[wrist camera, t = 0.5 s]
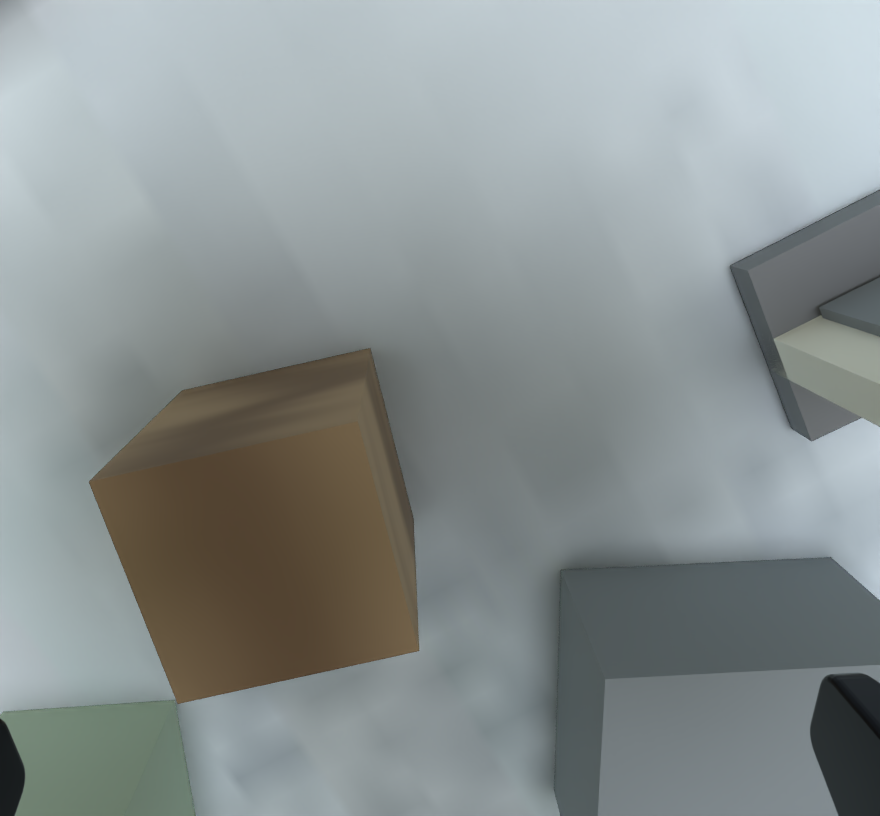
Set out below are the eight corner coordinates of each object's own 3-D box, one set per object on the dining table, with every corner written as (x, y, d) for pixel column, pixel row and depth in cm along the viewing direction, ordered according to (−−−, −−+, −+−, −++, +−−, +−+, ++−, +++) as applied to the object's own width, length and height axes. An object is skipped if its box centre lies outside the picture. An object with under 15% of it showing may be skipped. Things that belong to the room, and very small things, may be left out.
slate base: (793, 770, 24) (890, 917, 19) (552, 784, 24) (590, 937, 19) (827, 554, 22) (947, 661, 17) (559, 566, 21) (605, 679, 16)
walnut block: (370, 347, 19) (357, 421, 13) (413, 518, 20) (419, 650, 15) (182, 389, 19) (88, 481, 13) (239, 556, 20) (177, 703, 15)
